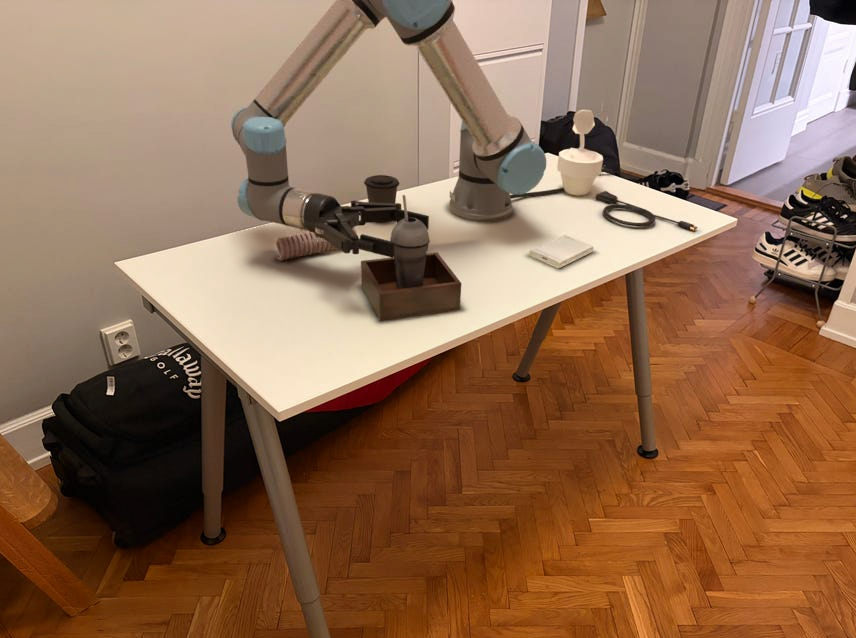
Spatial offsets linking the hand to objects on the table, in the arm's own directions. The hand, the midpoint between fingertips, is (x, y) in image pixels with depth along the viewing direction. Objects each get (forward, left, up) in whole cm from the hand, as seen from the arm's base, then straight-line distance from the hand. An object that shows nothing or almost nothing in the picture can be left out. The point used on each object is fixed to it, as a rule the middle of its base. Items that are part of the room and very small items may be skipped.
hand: (411, 236), depth 131 cm
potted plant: (-60, -44, -13) cm, 75 cm away
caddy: (0, 0, -13) cm, 13 cm away
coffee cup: (-5, -38, -13) cm, 40 cm away
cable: (-65, -24, -13) cm, 70 cm away
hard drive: (-38, -10, -13) cm, 41 cm away
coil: (+13, -24, -13) cm, 30 cm away
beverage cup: (0, 0, -12) cm, 13 cm away
